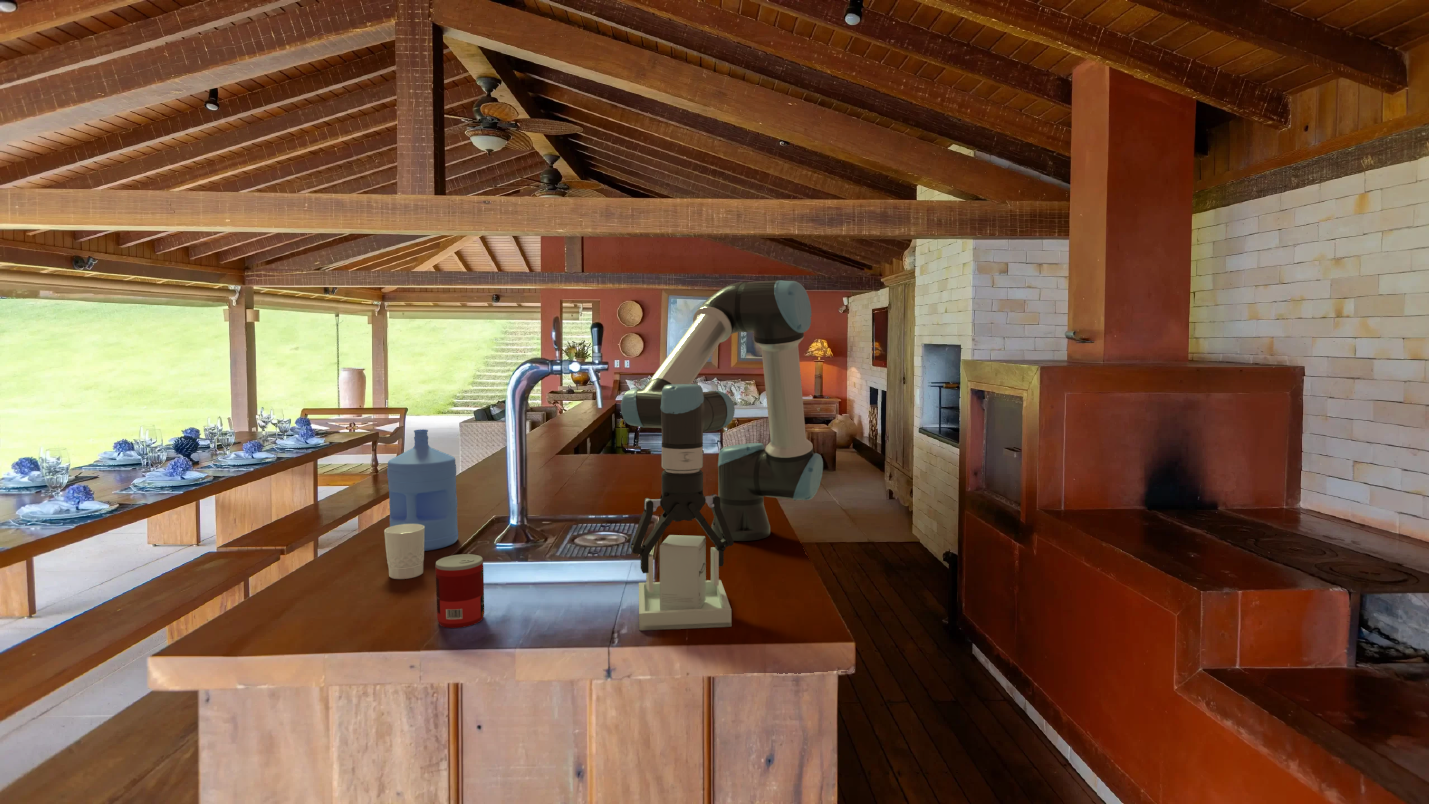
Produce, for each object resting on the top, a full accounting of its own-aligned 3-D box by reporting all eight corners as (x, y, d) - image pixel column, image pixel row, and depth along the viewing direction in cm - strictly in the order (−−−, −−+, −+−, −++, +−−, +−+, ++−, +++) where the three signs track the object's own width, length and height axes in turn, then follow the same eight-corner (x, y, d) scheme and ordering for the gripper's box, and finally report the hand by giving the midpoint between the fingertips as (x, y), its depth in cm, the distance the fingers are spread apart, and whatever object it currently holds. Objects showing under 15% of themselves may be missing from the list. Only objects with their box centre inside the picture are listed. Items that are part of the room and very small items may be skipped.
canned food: (492, 620, 130) (490, 560, 129) (448, 632, 125) (446, 569, 124) (472, 608, 136) (470, 551, 135) (430, 620, 130) (428, 560, 129)
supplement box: (698, 615, 130) (698, 546, 129) (658, 613, 132) (658, 544, 130) (707, 601, 137) (706, 535, 136) (668, 598, 139) (668, 533, 138)
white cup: (390, 582, 150) (389, 535, 149) (382, 573, 156) (380, 527, 156) (430, 575, 155) (429, 529, 154) (420, 566, 161) (419, 521, 160)
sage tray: (638, 597, 142) (638, 582, 141) (720, 594, 143) (720, 579, 143) (639, 630, 126) (639, 613, 125) (731, 626, 127) (731, 609, 127)
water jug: (407, 534, 187) (404, 426, 185) (468, 535, 187) (465, 426, 184) (377, 552, 172) (372, 434, 169) (443, 553, 171) (439, 434, 169)
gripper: (619, 476, 125) (621, 599, 127) (751, 469, 132) (750, 587, 134) (613, 469, 132) (614, 585, 134) (738, 463, 139) (738, 574, 141)
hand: (682, 586), depth 134 cm, fingers open, 11 cm apart
